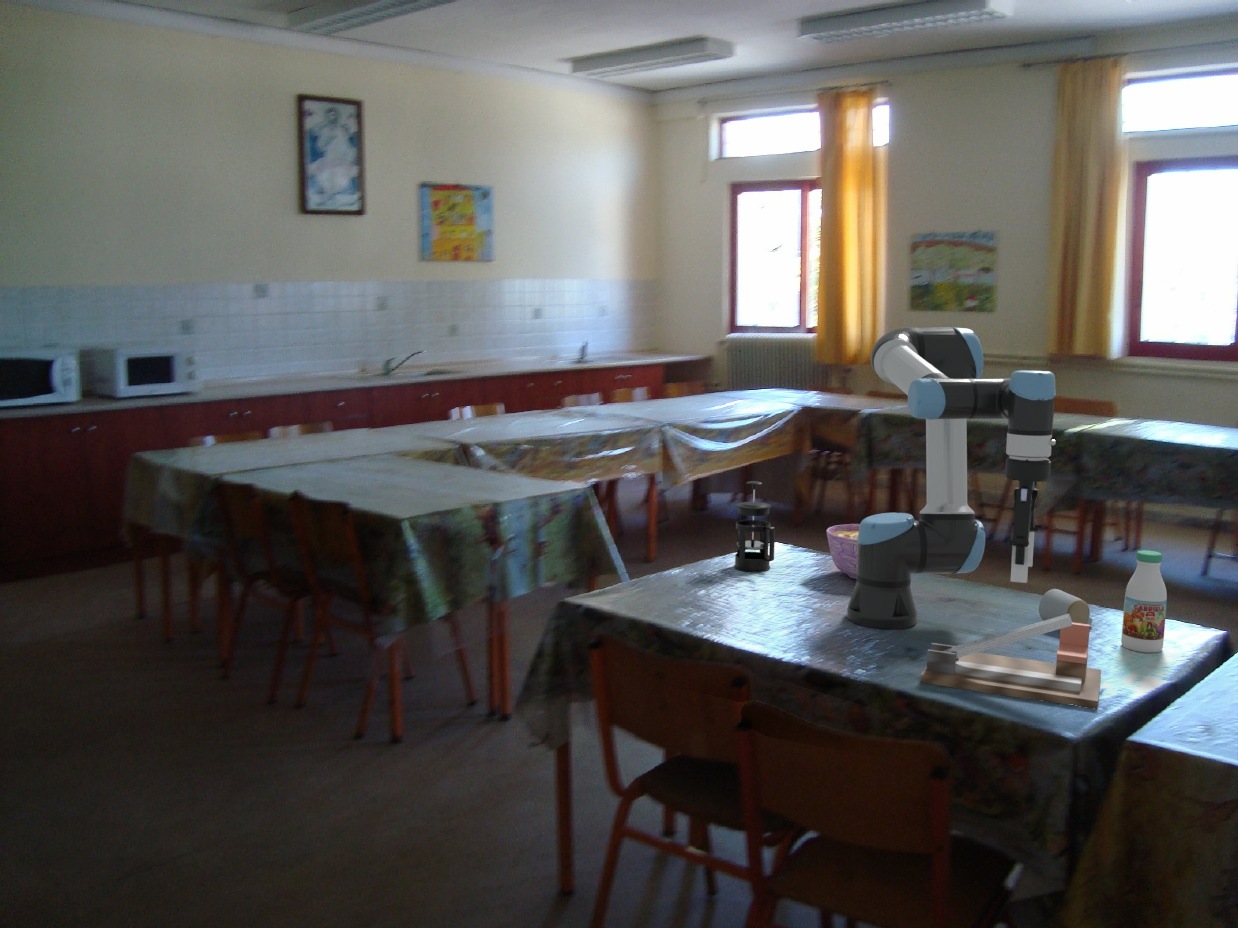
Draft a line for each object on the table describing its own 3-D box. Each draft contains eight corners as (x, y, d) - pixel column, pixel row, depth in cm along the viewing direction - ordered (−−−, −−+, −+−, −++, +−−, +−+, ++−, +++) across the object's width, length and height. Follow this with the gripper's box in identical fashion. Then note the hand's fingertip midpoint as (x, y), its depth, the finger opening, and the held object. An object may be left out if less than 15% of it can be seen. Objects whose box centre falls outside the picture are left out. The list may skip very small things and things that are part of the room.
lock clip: (1056, 659, 199) (1058, 632, 198) (1059, 647, 206) (1061, 621, 205) (1086, 664, 196) (1088, 636, 196) (1087, 651, 204) (1089, 624, 203)
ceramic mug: (1066, 634, 230) (1069, 599, 229) (1036, 624, 238) (1039, 589, 236) (1101, 629, 235) (1104, 594, 234) (1071, 618, 242) (1074, 585, 241)
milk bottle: (1113, 642, 225) (1120, 548, 222) (1148, 641, 226) (1156, 547, 223) (1134, 654, 218) (1141, 557, 215) (1170, 653, 218) (1179, 556, 215)
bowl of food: (903, 569, 285) (905, 526, 283) (905, 588, 266) (908, 542, 264) (826, 564, 289) (827, 522, 288) (823, 583, 270) (824, 538, 268)
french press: (724, 567, 286) (726, 481, 282) (746, 561, 292) (749, 477, 289) (760, 575, 277) (763, 486, 274) (782, 569, 284) (785, 482, 281)
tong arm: (941, 662, 202) (938, 655, 202) (944, 657, 205) (941, 650, 205) (1071, 625, 191) (1067, 617, 192) (1072, 621, 194) (1068, 613, 194)
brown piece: (920, 682, 201) (922, 653, 200) (937, 654, 217) (938, 627, 216) (1097, 709, 188) (1099, 679, 187) (1100, 677, 204) (1102, 649, 203)
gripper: (1047, 467, 181) (1039, 591, 184) (1054, 450, 203) (1047, 561, 206) (999, 464, 184) (993, 586, 187) (1012, 448, 206) (1006, 557, 209)
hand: (1021, 573), depth 197 cm, fingers open, 13 cm apart
